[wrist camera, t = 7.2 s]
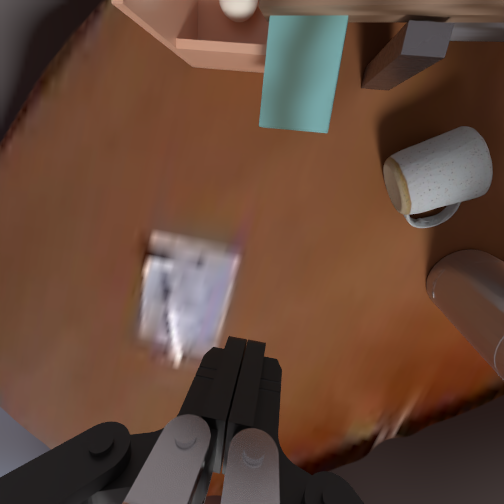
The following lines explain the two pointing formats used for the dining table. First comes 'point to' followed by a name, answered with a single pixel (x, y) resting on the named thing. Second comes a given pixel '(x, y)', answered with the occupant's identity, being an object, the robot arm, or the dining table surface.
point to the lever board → (331, 47)
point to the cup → (203, 32)
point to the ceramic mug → (438, 175)
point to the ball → (238, 9)
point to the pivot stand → (408, 54)
